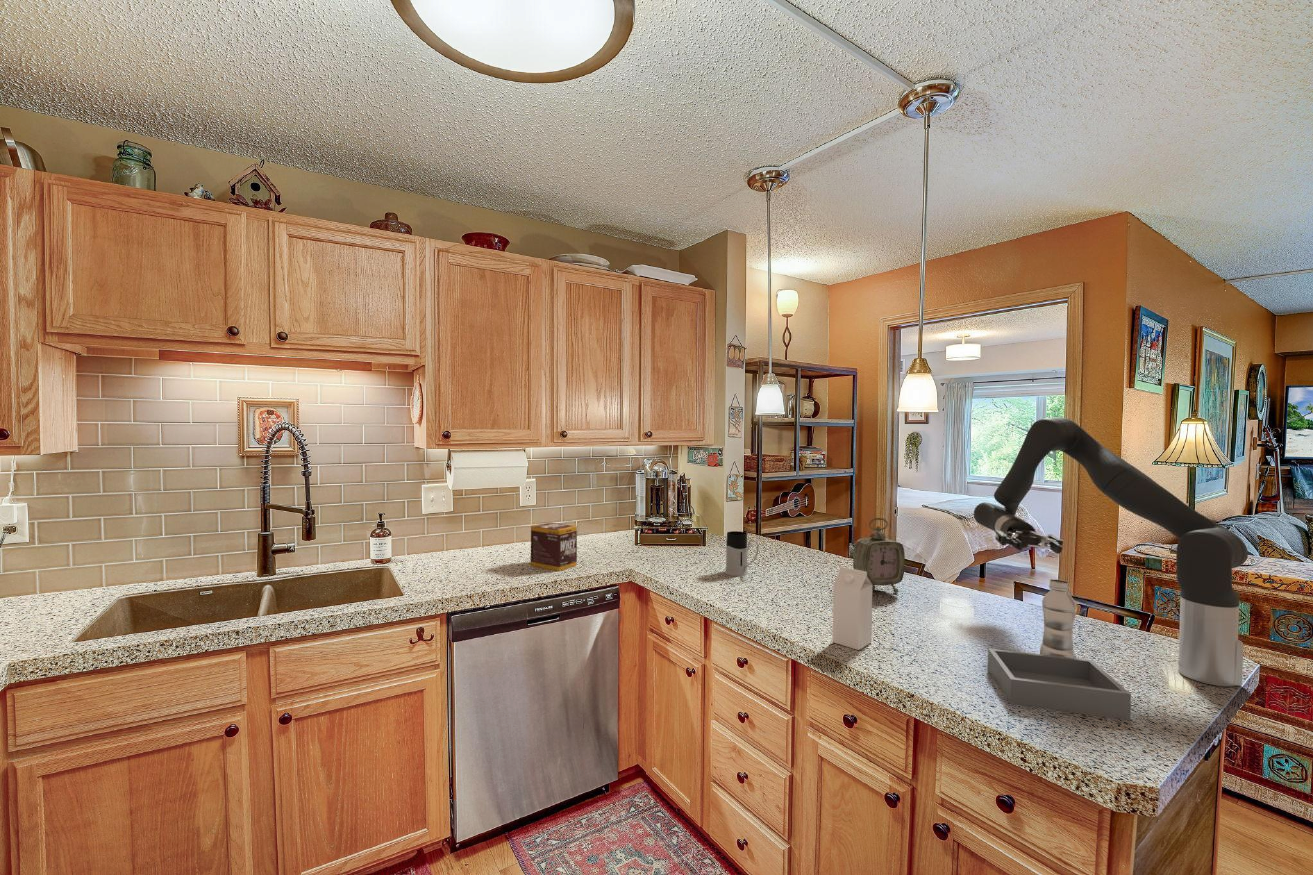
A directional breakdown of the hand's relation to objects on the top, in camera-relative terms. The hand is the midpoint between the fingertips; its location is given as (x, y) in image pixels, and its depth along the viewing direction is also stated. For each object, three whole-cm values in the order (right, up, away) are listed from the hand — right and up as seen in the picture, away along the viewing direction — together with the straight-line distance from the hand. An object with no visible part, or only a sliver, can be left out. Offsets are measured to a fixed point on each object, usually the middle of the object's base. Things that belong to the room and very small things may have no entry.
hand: (1040, 548), depth 139 cm
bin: (-14, -26, -24) cm, 37 cm away
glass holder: (-65, -23, +66) cm, 96 cm away
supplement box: (-137, -22, +77) cm, 159 cm away
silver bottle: (-4, -26, -11) cm, 28 cm away
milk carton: (-47, -25, +2) cm, 53 cm away
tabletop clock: (-23, -24, +46) cm, 57 cm away
